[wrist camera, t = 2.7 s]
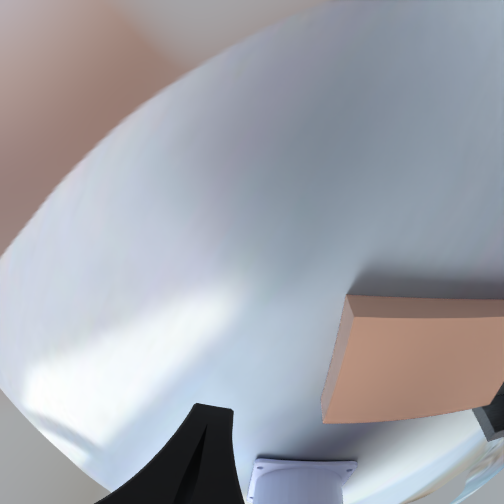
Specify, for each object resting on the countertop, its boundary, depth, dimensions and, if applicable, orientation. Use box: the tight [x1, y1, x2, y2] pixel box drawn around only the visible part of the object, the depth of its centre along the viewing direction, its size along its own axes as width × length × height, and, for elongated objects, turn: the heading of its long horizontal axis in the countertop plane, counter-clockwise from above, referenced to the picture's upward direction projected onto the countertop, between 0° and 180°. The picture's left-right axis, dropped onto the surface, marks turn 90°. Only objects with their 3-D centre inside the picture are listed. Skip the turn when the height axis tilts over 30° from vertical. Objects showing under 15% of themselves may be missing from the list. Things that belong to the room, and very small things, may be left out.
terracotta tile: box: [321, 295, 504, 424], centre depth 13 cm, size 7×12×2 cm, turn 87°
